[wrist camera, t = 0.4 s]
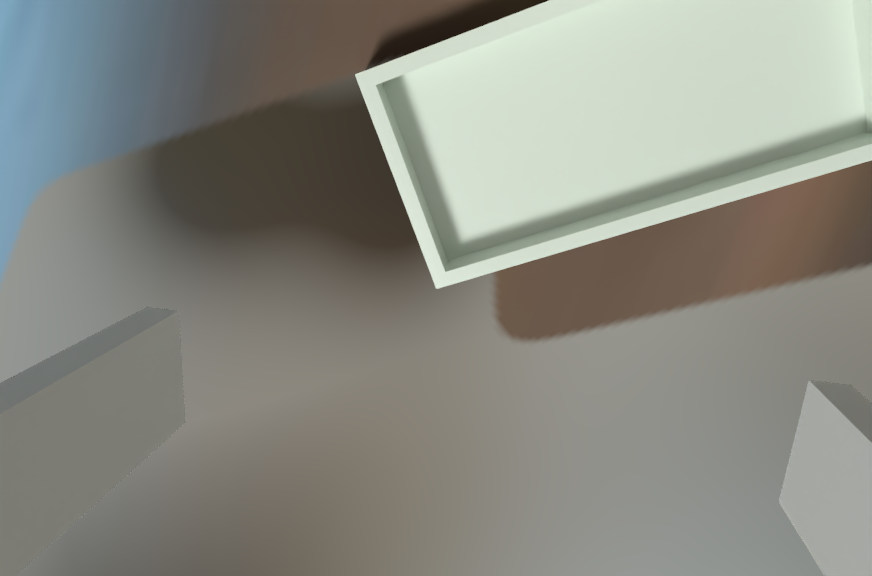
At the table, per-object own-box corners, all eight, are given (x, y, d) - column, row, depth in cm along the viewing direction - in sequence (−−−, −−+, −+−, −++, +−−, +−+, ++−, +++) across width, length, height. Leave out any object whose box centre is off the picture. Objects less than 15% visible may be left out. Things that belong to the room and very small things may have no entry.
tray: (852, -116, 29) (882, -128, 26) (879, 140, 33) (908, 149, 30) (364, 71, 34) (354, 74, 31) (440, 272, 38) (436, 288, 35)
